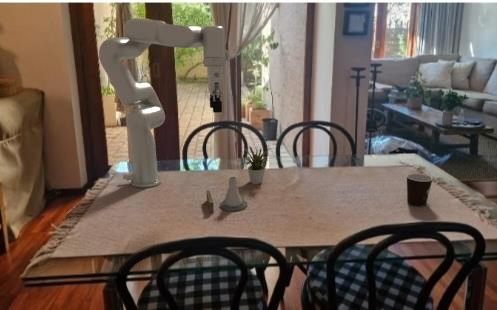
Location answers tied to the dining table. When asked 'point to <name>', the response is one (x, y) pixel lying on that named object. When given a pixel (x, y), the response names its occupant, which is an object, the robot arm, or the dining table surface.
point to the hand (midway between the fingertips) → (215, 109)
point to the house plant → (256, 166)
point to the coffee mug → (418, 189)
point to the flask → (232, 194)
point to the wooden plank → (210, 201)
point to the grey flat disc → (233, 207)
